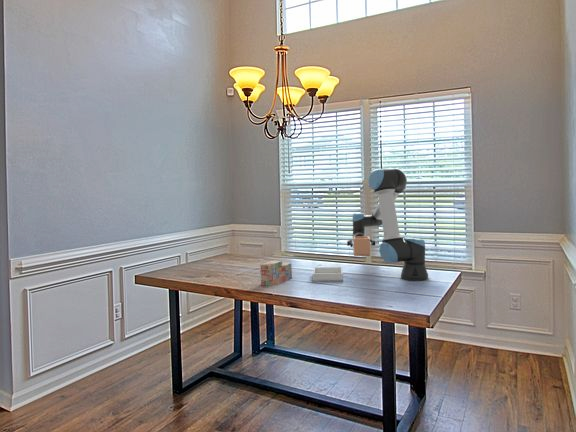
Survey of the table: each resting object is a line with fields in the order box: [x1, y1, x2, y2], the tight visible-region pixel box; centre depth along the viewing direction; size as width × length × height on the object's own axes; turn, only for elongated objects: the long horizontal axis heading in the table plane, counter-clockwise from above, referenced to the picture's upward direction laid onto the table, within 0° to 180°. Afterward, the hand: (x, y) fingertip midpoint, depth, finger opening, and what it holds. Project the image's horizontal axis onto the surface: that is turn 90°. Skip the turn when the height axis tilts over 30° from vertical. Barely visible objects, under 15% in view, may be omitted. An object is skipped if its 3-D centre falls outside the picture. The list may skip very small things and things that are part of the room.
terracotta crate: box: [352, 235, 371, 257], centre depth 242 cm, size 9×9×10 cm
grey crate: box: [312, 266, 344, 283], centre depth 246 cm, size 17×17×4 cm
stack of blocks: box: [260, 259, 293, 287], centre depth 240 cm, size 21×6×12 cm, turn 143°
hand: (362, 245), depth 237 cm, fingers closed on terracotta crate, 9 cm apart
